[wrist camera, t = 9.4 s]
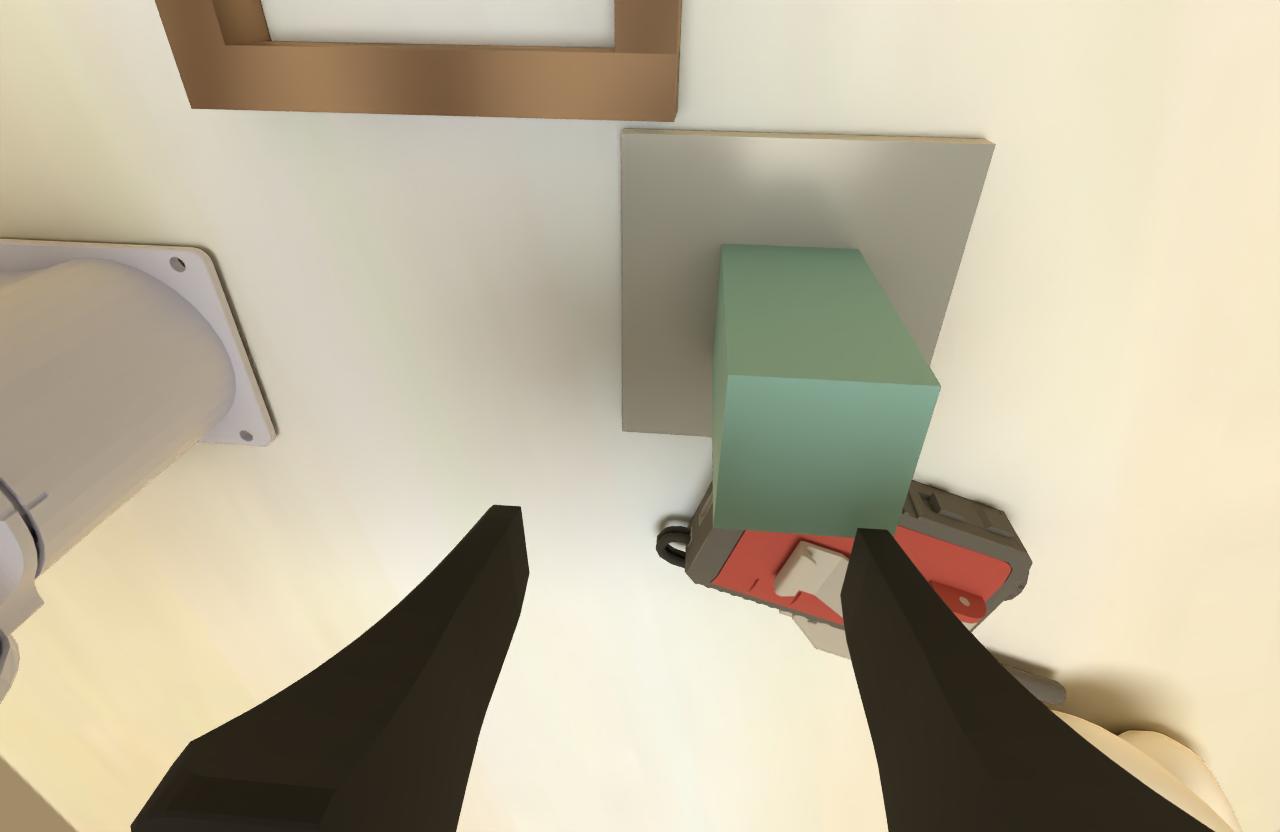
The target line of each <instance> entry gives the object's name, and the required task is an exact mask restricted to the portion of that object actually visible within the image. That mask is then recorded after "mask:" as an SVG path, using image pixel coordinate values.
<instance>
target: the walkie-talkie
mask: <svg viewBox="0 0 1280 832" xmlns="http://www.w3.org/2000/svg"><path fill="white" fill-rule="evenodd" d="M894 538H895V540H896V541H897V542H898V544H899V545H900V546H901V548H902V549H903V550H904V552H905V553H906V554H907V555H908V557H909V558H910V559H911V561H912V562H913V563H914V565H915V566H916V567H917V568H918V570H919V571H920V572H921V574H922V575H923V576H924V577H925V579H926V580H927V581H928V582H929V584H930V585H931V586H932V587H933V589H934V590H935V591H936V592H937V594H938V595H939V596H940V597H941V598H942V600H943V601H944V602H945V603H946V604H947V605H948V607H949V608H950V609H951V610H952V611H953V613H954V614H955V615H956V616H957V617H958V619H959V620H960V621H961V622H962V623H963V624H964V625H965V626H966V628H967V629H968V630H969V631H970V632H972V631H973V630H974V629H975V628H976V627H977V626H978V625H979V624H980V623H981V622H982V621H983V620H984V619H985V618H986V617H987V616H988V615H989V614H990V613H992V612H993V611H994V610H995V609H996V608H997V607H998V606H999V605H1000V604H1001V603H1002V602H1003V601H1006V600H1011V599H1013V598H1014V597H1016V596H1018V595H1019V594H1020V593H1021V592H1022V590H1023V589H1024V587H1025V586H1026V584H1027V579H1028V575H1029V569H1030V567H1031V565H1032V563H1033V562H1032V560H1031V558H1030V557H1029V555H1028V553H1027V551H1026V549H1025V548H1024V546H1023V544H1022V542H1021V541H1020V539H1019V537H1018V535H1017V534H1016V532H1015V530H1014V529H1013V527H1012V525H1011V523H1010V522H1009V520H1008V518H1007V516H1006V515H1005V513H1004V512H1003V511H1000V510H997V509H994V508H992V507H989V506H986V505H983V504H980V503H977V502H974V501H971V500H968V499H966V498H963V497H960V496H957V495H954V494H951V493H948V492H945V491H943V490H940V489H937V488H934V487H931V486H928V485H925V484H922V483H919V482H917V481H914V480H912V481H911V484H910V487H909V491H908V494H907V497H906V500H905V503H904V506H903V510H902V513H901V516H900V519H899V522H898V526H897V529H896V532H895V535H894ZM854 540H855V538H848V537H834V536H820V535H806V534H792V533H778V532H764V531H750V530H737V529H723V528H713V481H712V483H711V484H710V486H709V488H708V490H707V492H706V494H705V496H704V497H703V499H702V501H701V503H700V505H699V507H698V509H697V510H696V512H695V514H694V516H693V518H692V520H691V522H690V523H689V525H688V527H687V528H686V527H682V526H669V527H666V528H665V529H664V530H663V531H662V532H661V533H660V534H659V535H658V536H657V544H656V551H657V552H658V554H659V556H660V557H661V558H663V559H664V560H666V561H667V562H669V563H671V564H673V565H676V566H679V567H683V568H685V572H686V574H687V575H688V576H689V577H690V578H691V579H692V581H693V582H694V583H695V584H701V585H704V586H705V587H708V588H714V589H717V590H718V591H720V592H726V593H730V594H731V595H733V596H739V597H742V598H743V599H746V600H752V601H755V602H756V603H758V604H764V605H767V606H769V607H771V608H777V609H779V612H780V614H784V615H787V616H790V617H792V619H793V620H794V621H795V623H796V624H797V625H798V626H799V628H800V629H801V630H802V632H803V633H804V634H805V635H806V637H807V638H808V639H809V641H810V642H811V643H812V644H813V646H814V647H815V648H816V649H819V650H822V651H825V652H828V653H831V654H835V655H838V656H841V657H844V658H847V659H851V657H850V653H849V649H848V645H847V641H846V635H845V628H844V621H843V614H842V605H841V597H840V593H841V590H842V586H843V582H844V578H845V574H846V570H847V567H848V563H849V559H850V555H851V551H852V547H853V544H854ZM671 542H681V543H685V544H686V552H684V551H680V550H677V549H675V548H673V547H672V546H670V545H669V543H671ZM1001 665H1002V666H1003V667H1004V668H1005V669H1006V670H1007V671H1008V672H1010V673H1011V674H1012V675H1013V676H1014V677H1015V678H1016V679H1017V680H1018V681H1019V682H1020V683H1021V684H1022V685H1023V686H1024V687H1025V688H1026V689H1028V690H1029V691H1030V692H1031V693H1032V694H1033V695H1034V696H1035V697H1036V698H1037V699H1038V700H1040V701H1043V702H1046V703H1049V704H1053V705H1058V704H1061V703H1063V702H1064V700H1065V699H1066V691H1065V689H1064V687H1063V686H1062V685H1061V684H1060V683H1058V682H1057V681H1054V680H1051V679H1047V678H1044V677H1041V676H1038V675H1035V674H1032V673H1029V672H1025V671H1022V670H1019V669H1016V668H1013V667H1010V666H1007V665H1003V664H1001Z"/></svg>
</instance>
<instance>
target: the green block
mask: <svg viewBox="0 0 1280 832" xmlns="http://www.w3.org/2000/svg"><path fill="white" fill-rule="evenodd" d="M940 389H941V385H940V383H939V382H938V380H937V378H936V377H935V375H934V373H933V372H932V370H931V368H930V367H929V365H928V363H927V362H926V360H925V359H924V357H923V355H922V354H921V352H920V350H919V349H918V347H917V345H916V344H915V342H914V340H913V339H912V337H911V335H910V334H909V332H908V330H907V329H906V327H905V325H904V324H903V322H902V320H901V319H900V317H899V315H898V314H897V312H896V310H895V309H894V307H893V305H892V304H891V302H890V300H889V299H888V297H887V295H886V294H885V292H884V290H883V289H882V287H881V285H880V284H879V282H878V280H877V279H876V277H875V275H874V274H873V272H872V270H871V269H870V267H869V265H868V264H867V262H866V261H865V259H864V257H863V256H862V254H861V252H860V251H859V249H846V248H820V247H795V246H770V245H745V244H722V249H721V261H720V273H719V286H718V298H717V310H716V322H715V334H714V346H713V358H712V423H713V528H723V529H737V530H750V531H764V532H778V533H792V534H806V535H820V536H834V537H848V538H855V536H856V532H857V528H869V529H884V530H888V531H889V532H890V533H891V534H892V536H893V537H894V535H895V532H896V529H897V526H898V522H899V519H900V516H901V513H902V510H903V506H904V503H905V500H906V497H907V494H908V491H909V487H910V484H911V481H912V478H913V475H914V471H915V468H916V465H917V462H918V459H919V455H920V452H921V449H922V446H923V443H924V440H925V436H926V433H927V430H928V427H929V424H930V420H931V417H932V414H933V411H934V408H935V404H936V401H937V398H938V395H939V392H940Z"/></svg>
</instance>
